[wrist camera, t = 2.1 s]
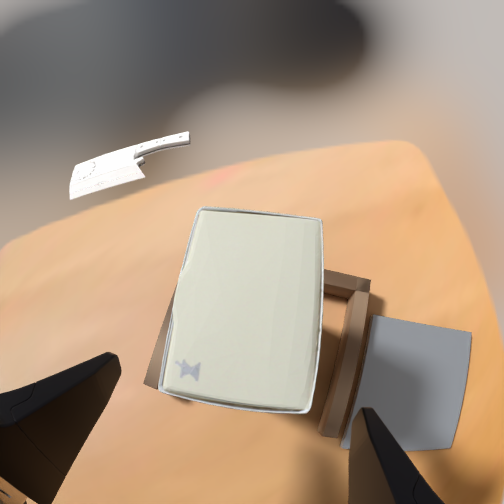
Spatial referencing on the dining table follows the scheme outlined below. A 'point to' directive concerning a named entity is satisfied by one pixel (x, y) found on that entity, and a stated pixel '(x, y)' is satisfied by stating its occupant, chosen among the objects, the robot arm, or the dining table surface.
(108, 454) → the dining table surface
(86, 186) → the white meat cleaver
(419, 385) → the slate coaster
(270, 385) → the skincare box
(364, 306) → the walnut cubby
